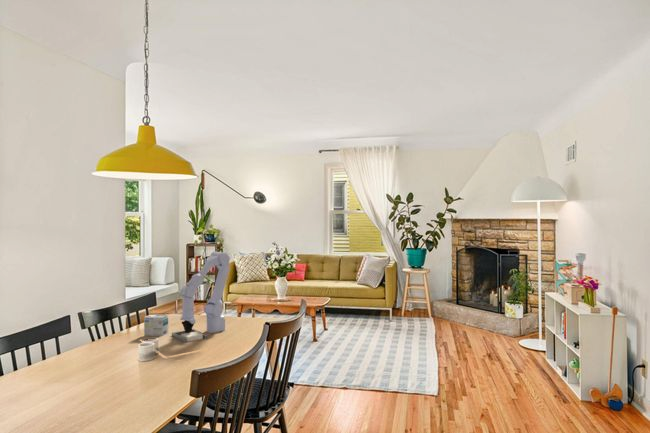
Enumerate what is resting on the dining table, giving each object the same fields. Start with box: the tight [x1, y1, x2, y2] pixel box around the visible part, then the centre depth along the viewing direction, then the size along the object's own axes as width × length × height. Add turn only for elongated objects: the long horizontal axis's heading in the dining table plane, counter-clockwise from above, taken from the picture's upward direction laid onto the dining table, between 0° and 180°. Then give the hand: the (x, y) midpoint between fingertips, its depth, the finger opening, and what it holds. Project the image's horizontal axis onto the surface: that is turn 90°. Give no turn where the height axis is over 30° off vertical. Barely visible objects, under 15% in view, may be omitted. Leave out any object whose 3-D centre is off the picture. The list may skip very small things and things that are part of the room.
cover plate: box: [181, 330, 204, 343], centre depth 223 cm, size 8×8×2 cm
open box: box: [171, 328, 208, 344], centre depth 226 cm, size 12×17×2 cm
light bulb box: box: [143, 314, 169, 337], centre depth 233 cm, size 11×7×11 cm, turn 84°
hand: (188, 335), depth 227 cm, fingers closed
